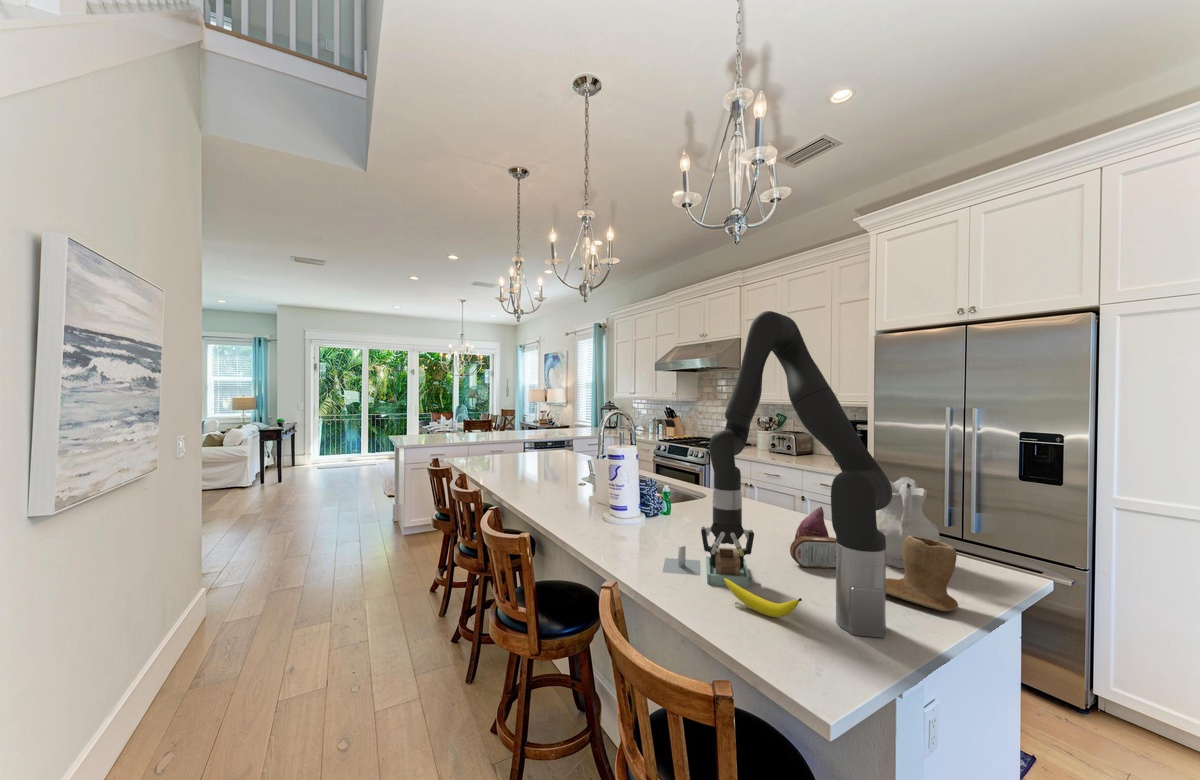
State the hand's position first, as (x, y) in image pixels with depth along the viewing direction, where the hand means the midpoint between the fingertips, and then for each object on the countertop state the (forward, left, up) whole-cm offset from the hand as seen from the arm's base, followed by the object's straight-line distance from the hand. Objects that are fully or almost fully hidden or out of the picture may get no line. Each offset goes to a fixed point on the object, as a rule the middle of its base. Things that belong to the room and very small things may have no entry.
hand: (727, 567), depth 125 cm
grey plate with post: (+4, +12, -3) cm, 13 cm away
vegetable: (+30, -28, -3) cm, 41 cm away
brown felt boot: (-5, -44, -3) cm, 44 cm away
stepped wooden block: (0, 0, 0) cm, 0 cm away
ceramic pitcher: (+21, -50, -3) cm, 54 cm away
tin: (+13, -26, -3) cm, 29 cm away
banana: (-19, -6, -3) cm, 20 cm away
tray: (0, 0, -3) cm, 3 cm away
